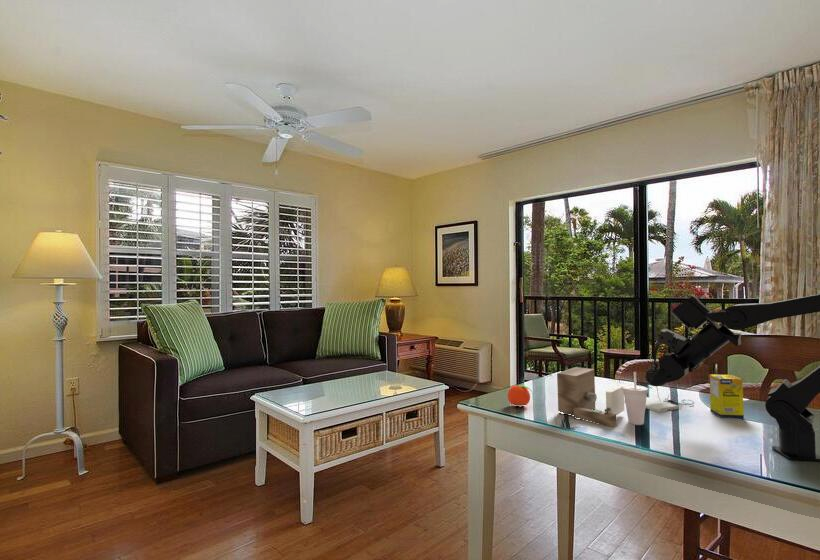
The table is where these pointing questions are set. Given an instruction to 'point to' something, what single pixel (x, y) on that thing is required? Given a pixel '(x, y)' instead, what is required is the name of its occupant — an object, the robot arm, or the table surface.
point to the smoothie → (635, 402)
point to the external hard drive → (659, 405)
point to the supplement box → (726, 396)
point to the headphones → (654, 370)
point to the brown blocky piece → (581, 396)
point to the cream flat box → (615, 400)
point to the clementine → (519, 395)
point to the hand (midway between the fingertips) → (656, 381)
